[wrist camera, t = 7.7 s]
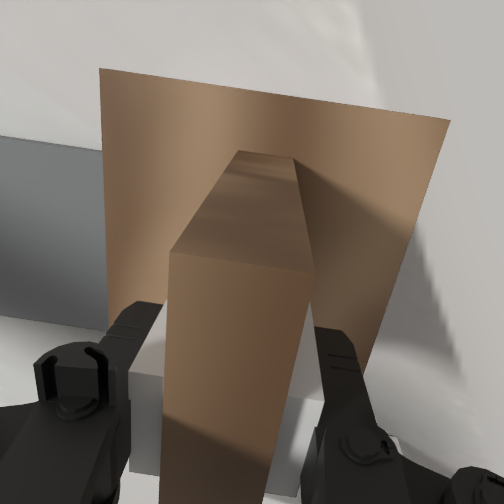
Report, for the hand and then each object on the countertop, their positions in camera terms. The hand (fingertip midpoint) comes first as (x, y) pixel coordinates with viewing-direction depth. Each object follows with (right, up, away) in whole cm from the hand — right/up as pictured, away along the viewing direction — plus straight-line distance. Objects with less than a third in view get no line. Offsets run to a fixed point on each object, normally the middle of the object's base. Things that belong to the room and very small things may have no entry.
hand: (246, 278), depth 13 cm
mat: (-14, +2, +14) cm, 20 cm away
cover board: (0, +1, +3) cm, 3 cm away
